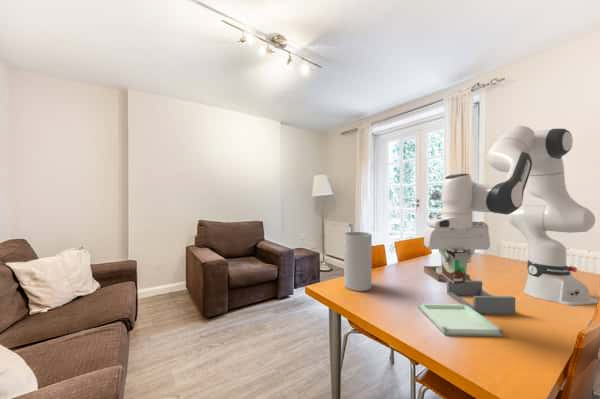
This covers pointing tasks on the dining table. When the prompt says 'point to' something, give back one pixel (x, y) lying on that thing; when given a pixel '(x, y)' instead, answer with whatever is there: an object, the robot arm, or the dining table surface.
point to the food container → (455, 265)
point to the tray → (459, 320)
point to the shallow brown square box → (439, 277)
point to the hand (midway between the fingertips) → (456, 262)
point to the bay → (481, 298)
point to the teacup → (439, 270)
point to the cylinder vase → (358, 261)
